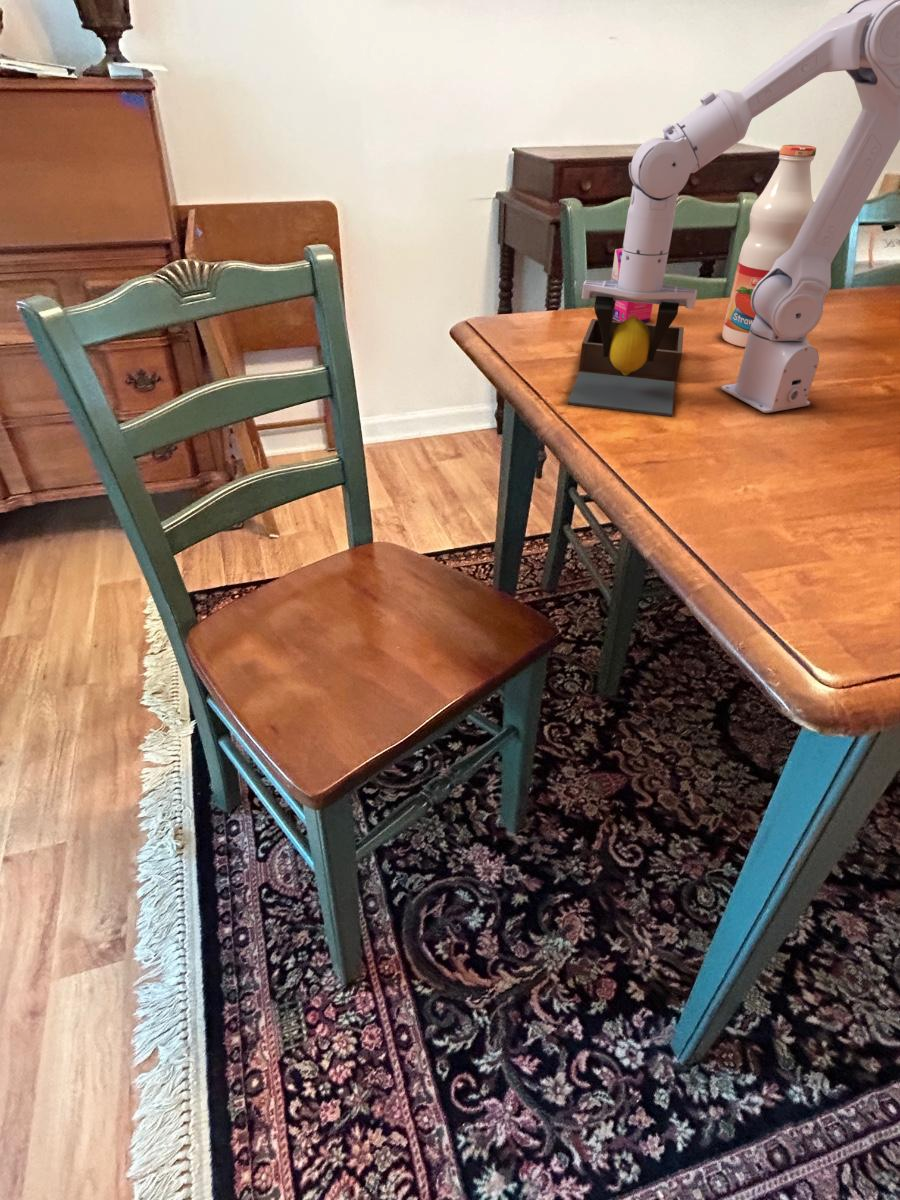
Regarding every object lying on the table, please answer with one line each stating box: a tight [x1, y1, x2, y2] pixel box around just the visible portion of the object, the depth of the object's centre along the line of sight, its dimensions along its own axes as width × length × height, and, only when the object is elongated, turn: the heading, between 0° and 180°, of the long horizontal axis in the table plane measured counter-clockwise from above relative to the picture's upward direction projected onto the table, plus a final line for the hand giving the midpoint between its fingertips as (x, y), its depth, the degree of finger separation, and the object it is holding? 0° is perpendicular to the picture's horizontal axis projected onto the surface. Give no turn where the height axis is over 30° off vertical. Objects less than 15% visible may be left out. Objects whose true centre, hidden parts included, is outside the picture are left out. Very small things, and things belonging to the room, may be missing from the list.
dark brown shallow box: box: [578, 318, 685, 383], centre depth 114 cm, size 14×12×4 cm
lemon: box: [609, 316, 651, 375], centre depth 101 cm, size 6×6×8 cm
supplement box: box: [610, 247, 654, 323], centre depth 130 cm, size 6×6×12 cm
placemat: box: [567, 371, 676, 417], centre depth 105 cm, size 14×12×1 cm
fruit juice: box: [721, 144, 817, 348], centre depth 116 cm, size 9×9×28 cm
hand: (628, 356), depth 102 cm, fingers closed on lemon, 5 cm apart
